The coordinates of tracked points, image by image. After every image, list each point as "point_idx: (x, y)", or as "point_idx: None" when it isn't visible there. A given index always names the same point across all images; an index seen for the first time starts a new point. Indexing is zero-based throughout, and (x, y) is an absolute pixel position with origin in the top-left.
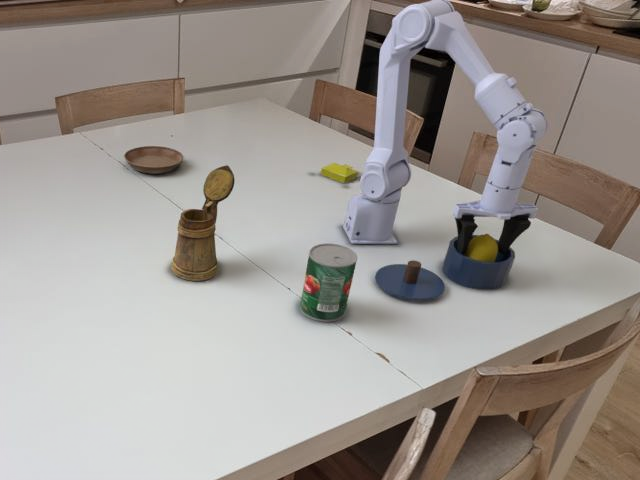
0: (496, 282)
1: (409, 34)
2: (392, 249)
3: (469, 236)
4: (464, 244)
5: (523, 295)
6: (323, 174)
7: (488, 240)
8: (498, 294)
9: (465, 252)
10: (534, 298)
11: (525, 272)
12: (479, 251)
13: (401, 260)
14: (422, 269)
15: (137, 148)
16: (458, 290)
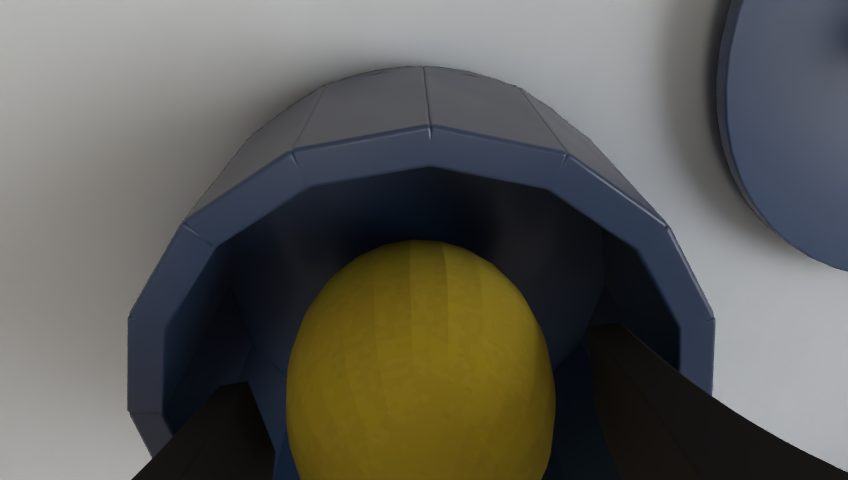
0: (300, 107)
1: None
2: (833, 464)
3: (716, 448)
4: (678, 377)
5: (92, 36)
6: None
7: (416, 458)
8: (286, 17)
9: (594, 335)
10: (6, 2)
11: (70, 352)
12: (489, 331)
13: (838, 361)
14: (814, 229)
15: None
16: (590, 26)
